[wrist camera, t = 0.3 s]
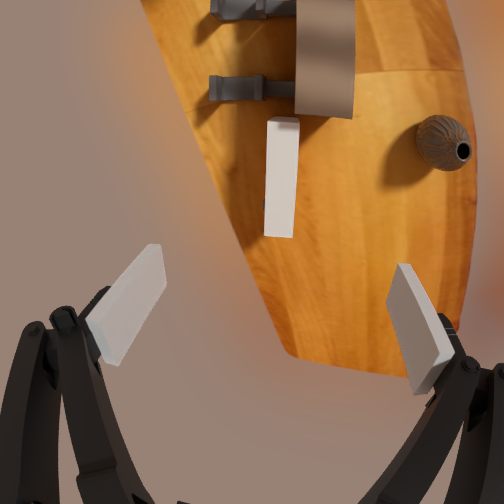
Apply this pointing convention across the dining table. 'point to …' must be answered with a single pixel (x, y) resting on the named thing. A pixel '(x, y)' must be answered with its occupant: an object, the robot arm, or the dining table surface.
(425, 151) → the vase
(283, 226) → the door
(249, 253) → the dining table surface
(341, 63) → the cabinet
